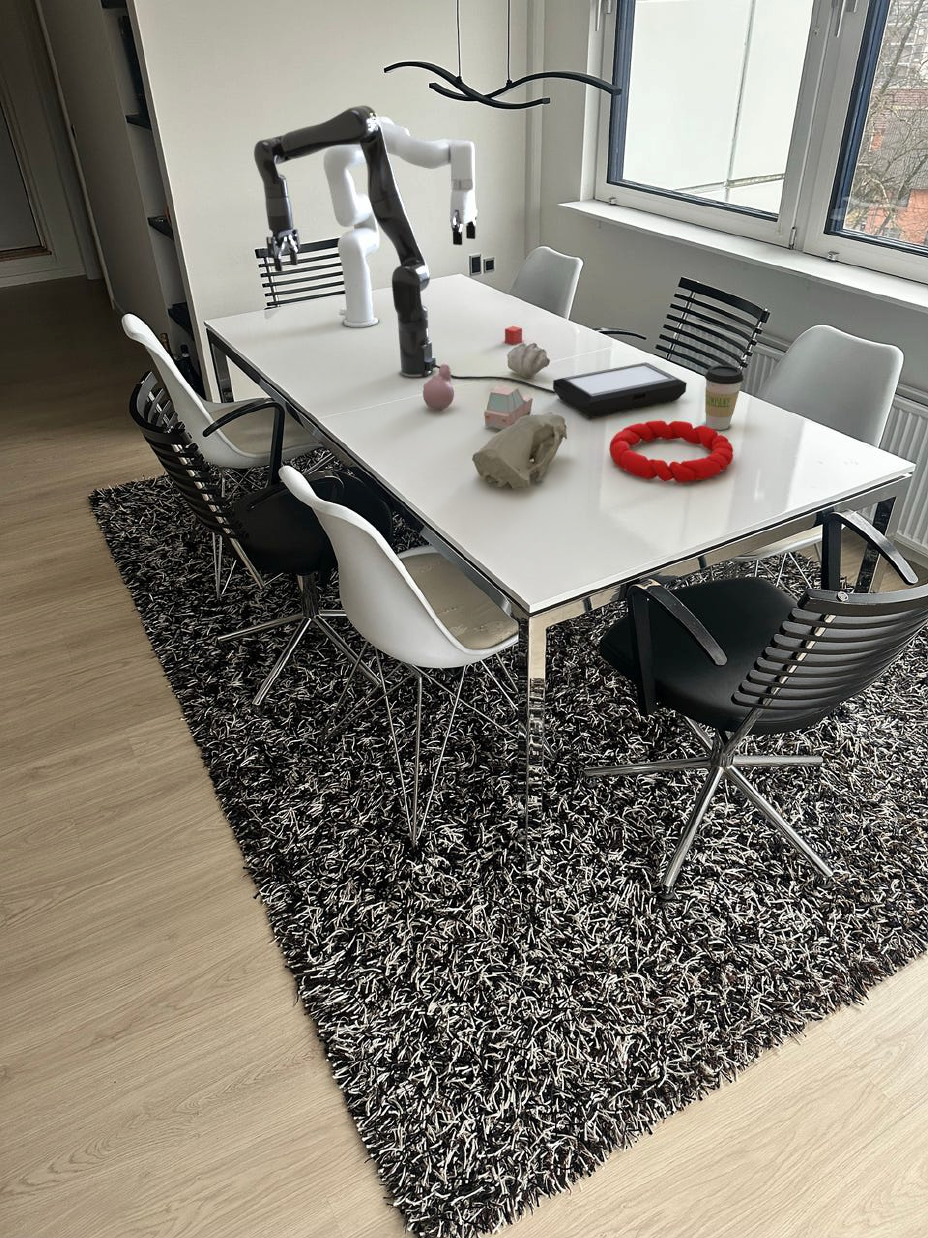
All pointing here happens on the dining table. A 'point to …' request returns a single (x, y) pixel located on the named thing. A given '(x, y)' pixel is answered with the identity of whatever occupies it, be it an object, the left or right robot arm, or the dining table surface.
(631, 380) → the electronic device
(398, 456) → the dining table surface
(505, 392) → the toy car
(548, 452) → the animal skull
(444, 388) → the figurine
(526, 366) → the seashell
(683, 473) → the decorative ring
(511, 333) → the block
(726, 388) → the coffee cup
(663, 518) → the dining table surface
